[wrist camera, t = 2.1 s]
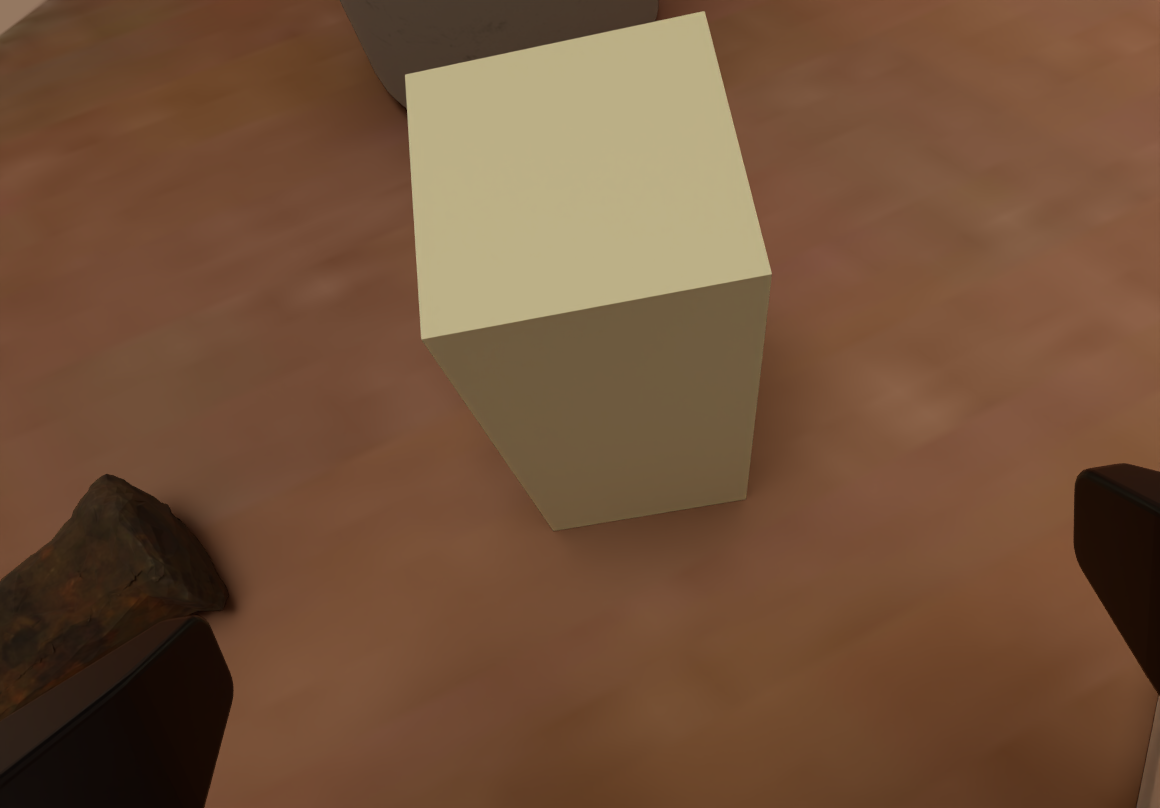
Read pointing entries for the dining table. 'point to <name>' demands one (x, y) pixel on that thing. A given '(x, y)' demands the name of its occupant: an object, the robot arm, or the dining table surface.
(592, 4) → the water bottle
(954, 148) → the dining table surface
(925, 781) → the dining table surface
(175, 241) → the dining table surface
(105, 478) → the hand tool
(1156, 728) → the box
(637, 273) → the pale green tall block
